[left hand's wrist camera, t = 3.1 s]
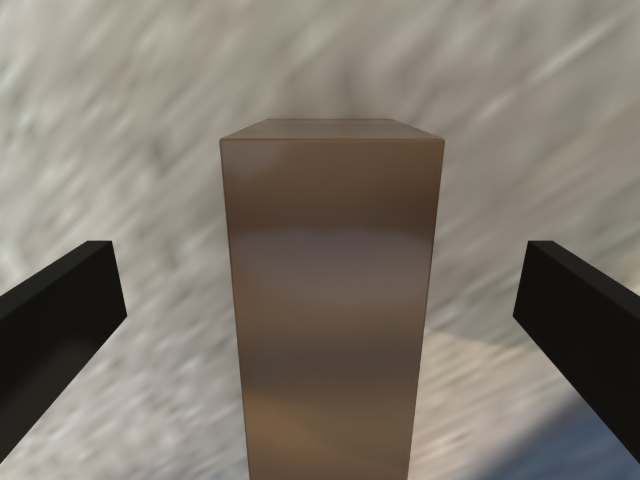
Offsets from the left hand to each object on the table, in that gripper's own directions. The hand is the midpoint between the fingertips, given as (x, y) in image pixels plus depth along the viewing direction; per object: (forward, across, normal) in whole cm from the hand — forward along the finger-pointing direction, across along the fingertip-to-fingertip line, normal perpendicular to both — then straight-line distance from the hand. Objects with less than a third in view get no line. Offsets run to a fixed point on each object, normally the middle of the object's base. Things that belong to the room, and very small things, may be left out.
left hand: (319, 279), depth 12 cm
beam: (+7, 0, -34) cm, 35 cm away
